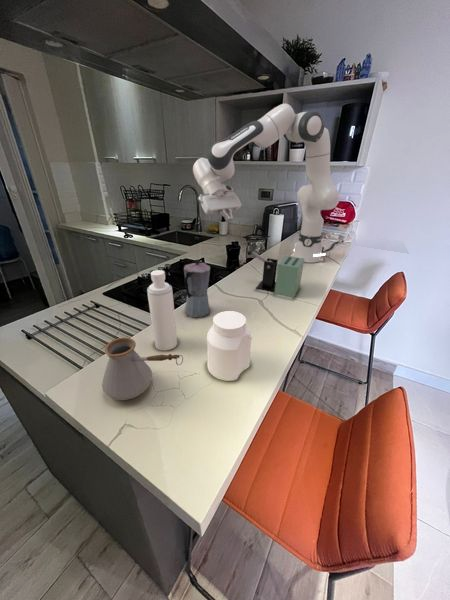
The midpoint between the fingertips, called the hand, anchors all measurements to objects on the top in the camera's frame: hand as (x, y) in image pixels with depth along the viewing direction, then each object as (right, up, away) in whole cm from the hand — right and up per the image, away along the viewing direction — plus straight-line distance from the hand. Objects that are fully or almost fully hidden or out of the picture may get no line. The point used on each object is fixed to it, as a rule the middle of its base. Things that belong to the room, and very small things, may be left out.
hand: (230, 219), depth 112 cm
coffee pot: (-21, -58, -51) cm, 80 cm away
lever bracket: (+17, -30, +1) cm, 35 cm away
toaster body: (+24, -32, -2) cm, 40 cm away
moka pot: (-12, -40, -18) cm, 46 cm away
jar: (-1, -54, -42) cm, 68 cm away
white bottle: (-20, -49, -34) cm, 63 cm away
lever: (+13, -19, -3) cm, 23 cm away
